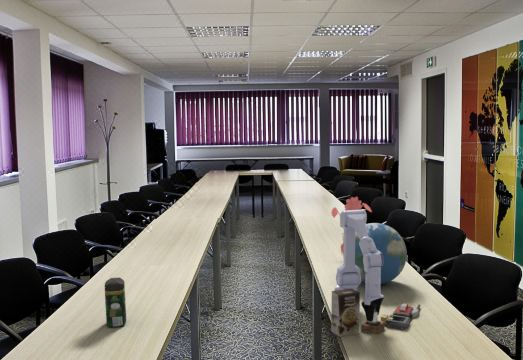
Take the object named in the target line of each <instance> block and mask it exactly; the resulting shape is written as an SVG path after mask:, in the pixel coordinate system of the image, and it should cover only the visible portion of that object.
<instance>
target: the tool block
mask: <svg viewBox="0 0 523 360" xmlns="http://www.w3.org/2000/svg"><path fill="white" fill-rule="evenodd" d="M388 317H391V318H393V320H391V319H388V318H387V319H386V324H385V327H386V328H387V327H388V328H394V329H401V330H406V329H407V328H408V326H409V325H410V320H409V317H403V316H397V315H393V314H390V315H388Z"/></svg>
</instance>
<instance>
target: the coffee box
mask: <svg viewBox="0 0 523 360" xmlns="http://www.w3.org/2000/svg"><path fill="white" fill-rule="evenodd" d="M360 297H361V292H360V291H358V290H357V291H356V290H353V289H351V288H350V289H343V290H336V291H334V290H331V317H330V318H331V320H330V322H331V326H330V327H331V328H330V332H332V333H333V334H334V335H336V336H338V337H346V336H352V335H356V334H360V313H361V312H360V310H361V309H360V306H361V303H360V302H361V301H360V300H361V298H360Z"/></svg>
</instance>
